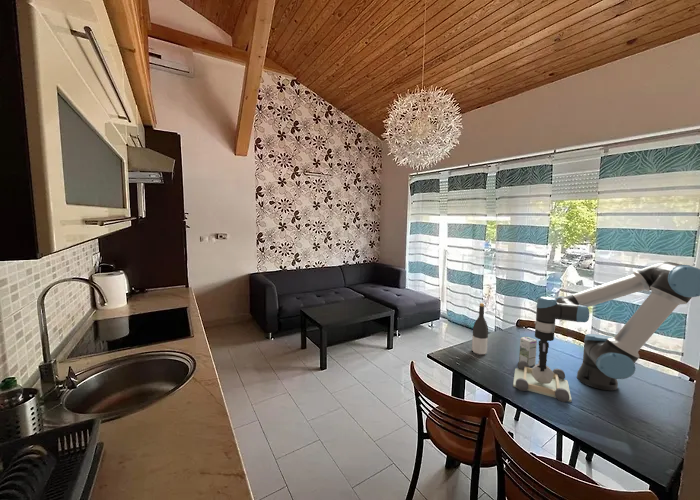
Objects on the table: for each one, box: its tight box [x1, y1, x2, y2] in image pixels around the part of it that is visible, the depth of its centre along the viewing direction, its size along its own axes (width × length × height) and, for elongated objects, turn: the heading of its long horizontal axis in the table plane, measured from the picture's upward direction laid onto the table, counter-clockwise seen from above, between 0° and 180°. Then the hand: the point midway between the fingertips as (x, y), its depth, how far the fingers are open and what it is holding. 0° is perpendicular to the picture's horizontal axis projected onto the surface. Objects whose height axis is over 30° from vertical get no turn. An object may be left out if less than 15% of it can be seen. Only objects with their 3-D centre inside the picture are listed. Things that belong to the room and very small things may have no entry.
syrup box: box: [518, 336, 538, 367], centre depth 161 cm, size 6×6×14 cm
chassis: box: [512, 361, 573, 403], centre depth 141 cm, size 22×23×5 cm
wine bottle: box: [471, 302, 489, 356], centre depth 172 cm, size 8×8×30 cm
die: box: [531, 363, 554, 384], centre depth 139 cm, size 8×9×10 cm
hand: (541, 377), depth 141 cm, fingers open, 7 cm apart
